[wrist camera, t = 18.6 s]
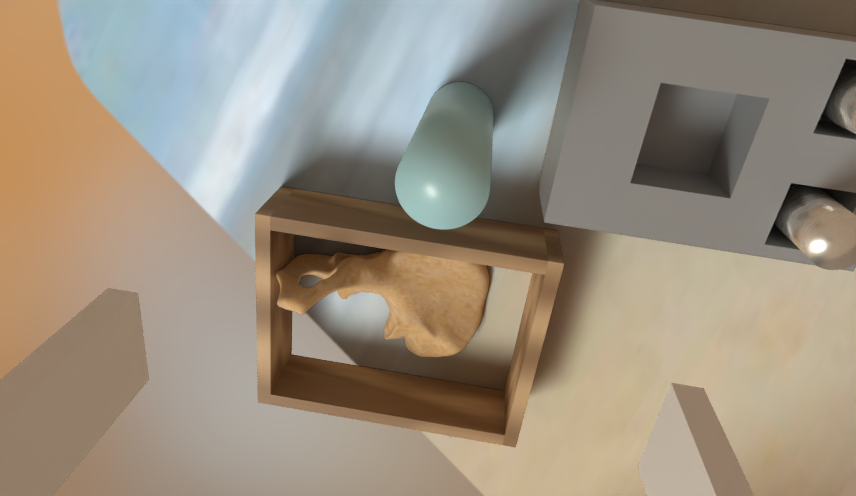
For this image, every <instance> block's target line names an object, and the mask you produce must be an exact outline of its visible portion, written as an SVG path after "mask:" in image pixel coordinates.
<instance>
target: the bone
mask: <svg viewBox="0 0 856 496" xmlns="http://www.w3.org/2000/svg"><path fill="white" fill-rule="evenodd" d="M303 275H314V276H317V277H320V278H322V279H323V280H321V281H319V282H318V283H317V284H316V285H315V286H313V287H311V288H304V287H301V286H300V285H298V282H299V281H300V278H301V277H302V276H303ZM276 276H277V279H278V281H279V284H280V295H279V298H278V301H277V305H278V306H279V307H282V308H284V309H287V310H291V311H295V312H296V313H298V314H300V315H303V314H305V313H306V312H307V311H308V310H309V309H310V308H311V307H312V306H313V305H314V304H315V303H316V302H318V301H319V300H320V299H322V298H323V297H325V296H326V295H328V294H330V293H332V292H334V291H338V294H339V296H340V297H341V298H342V299H347V298H348V297H349V296H350V295H353V294H356V293H359V292H371V293H376V294H379V295H381V296H382V297H383V298H384V299H385V300H386V302H387V304H388V306H389V309H390V315H389V318H388V320H387V322H386V325H385V327H384V330H385V334H384V338H385V339H398V338H404V339H405V345H406V347H407V349H409V350H410V351H411V352H412V353H414V354H415V355H418V356H421V357H442V356H450V355H454V354H457V353H458V352H460V351H461V350H463V349H464V348H465V347H466V345H467V344H468V343H469V341H470V340H471V338H472V337H473V335H474V334H475V332H476V330H477V328H478V326H479V324H480V322H481V317H482V313H483V308H484V303H485V299H486V296H487V292H488V289H489V274H488V270H487V267H486V265H481V264H475V263H469V262H463V261H456V260H450V259H444V258H438V257H432V256H426V255H419V254H413V253H407V252H401V251H395V250H389V249H386V250H385V251H384V252H377V253H373V254H368V255H353V254H345V253H340V252H338V253H335V254H334V255H333V257H332V256H327V255H321V254H304V255H299V256H297V257H296V258H294V259H293V260H291V261H290V262H289V263H288V264H287V265H286V266H285V268H284V269H283V270H280V271H278V272H277V273H276Z"/></svg>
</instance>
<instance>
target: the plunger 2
mask: <svg viewBox="0 0 856 496" xmlns="http://www.w3.org/2000/svg"><path fill="white" fill-rule="evenodd" d="M821 117H823V118H825V119H827V120H829V121H831V122H833V123H835V124H837V125H839V126H841V127H843V128H845V129H847V130H849V131H851V132H853V133H855V134H856V64H853V63H844V64H843V67H842V69H841V71H840V74H839V76H838V78H837V80H836V83H835V85H834V87H833V89H832V92H831V94H830V96H829V99H828V101H827V103H826V105H825V108H824V110H823V112H822V114H821Z"/></svg>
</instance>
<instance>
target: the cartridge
mask: <svg viewBox="0 0 856 496" xmlns="http://www.w3.org/2000/svg"><path fill="white" fill-rule="evenodd" d="M492 140H493V107H492V104H491V102H490V100H489V98H488V96H487V95H486V94H485V93H484V92H483V91H482V90H481V89H480V88H478V87H477V86H475V85H473V84H470V83H466V82H454V83H450V84H447V85H445V86H443V87H441V88H440V89H439V90H438V91H436V92H435V94H434V95H433V96H432V98H431V99H430V102H429V104H428V106H427V108H426V110H425V112H424V114H423V116H422V118H421V120H420V122H419V124H418V126H417V128H416V131H415V133H414V135H413V137H412V139H411V141H410V143H409V145H408V147H407V149H406V151H405V153H404V155H403V158H402V160H401V162H400V164H399V166H398V168H397V171H396V176H395V191H396V195H397V198H398V200H399V203H400V204H401V206H402V208H403V209H404V210H405V212H406V213H407V214H408V215H409V216H410V217H411V218H413V219H414V220H415V221H417V222H418V223H420V224H422V225H424V226H427V227H430V228H434V229H442V230H444V229H454V228H458V227H461V226H464V225H466V224H468V223H469V222H471V221H472V220H474V219H475V218H476V217H477V216H478V215H479V214H480V213H481V212H482V210H483V209H484V207H485V206H486V204H487V201H488V199H489V195H490V187H491V163H492Z"/></svg>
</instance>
